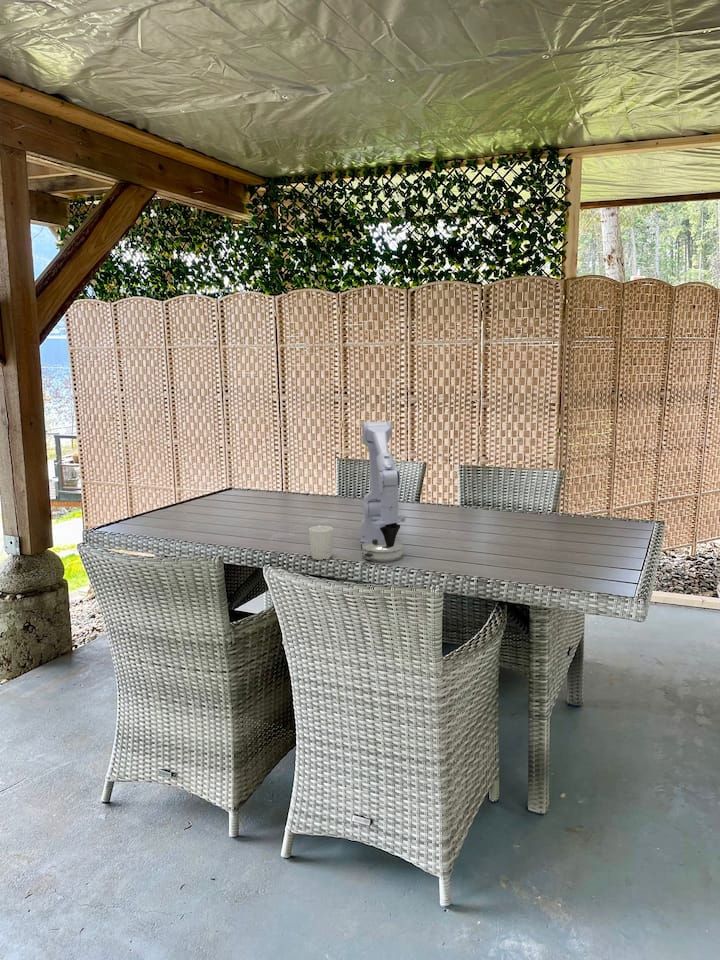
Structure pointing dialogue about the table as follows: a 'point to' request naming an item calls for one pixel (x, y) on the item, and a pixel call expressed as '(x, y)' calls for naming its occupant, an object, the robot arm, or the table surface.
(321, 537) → the white cup
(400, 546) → the lid
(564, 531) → the table surface
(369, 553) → the grey flat round piece
